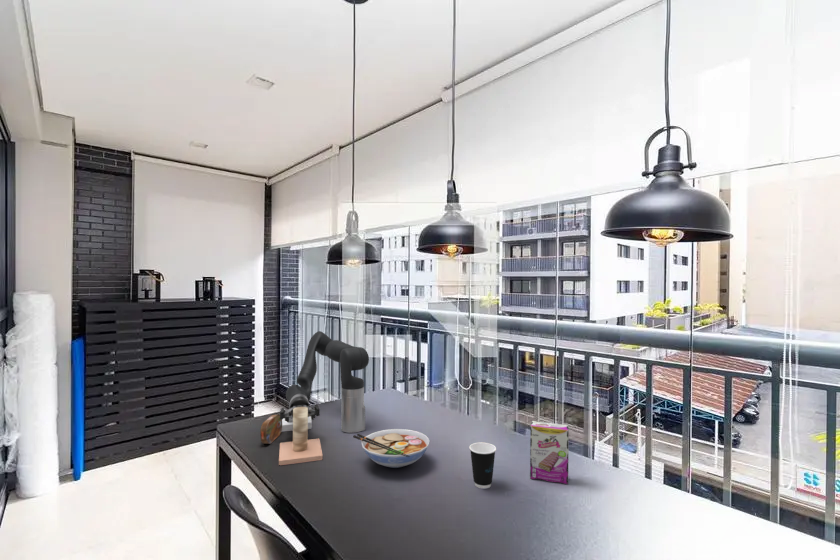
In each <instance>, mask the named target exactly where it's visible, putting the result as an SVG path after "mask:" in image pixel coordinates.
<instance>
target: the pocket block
mask: <svg viewBox="0 0 840 560" xmlns="http://www.w3.org/2000/svg"><path fill="white" fill-rule="evenodd" d="M312 422H313V420H311V416H310V417H308V430H310V429H311V430H312V428H313V425H312V424H313V423H312ZM282 432H283V433H284V432H293V418H292V419H290V418H289V422H287V421H285V418H283V419H282V430H281V433H282Z"/></svg>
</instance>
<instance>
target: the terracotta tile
mask: <svg viewBox="0 0 840 560" xmlns="http://www.w3.org/2000/svg"><path fill="white" fill-rule="evenodd" d="M278 452H279V453H278V455H279V456H278V466H279V465H280V466H286V465H293V464H294V465H295V464H301V463H309V462H315V461H323V458H324V457H323V451H322V444H321V440H320V438H313V439H312V438H311V439H308V448H307V450H305V451H300V452H296V451H293V440H292V441H284V442H283V441H282V442H280V443H279V451H278Z"/></svg>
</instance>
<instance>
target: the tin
mask: <svg viewBox="0 0 840 560" xmlns="http://www.w3.org/2000/svg"><path fill="white" fill-rule="evenodd" d="M281 430H282V420H281V419H280V413H279V414H271V415H270V416H269V417H268V418H267V419H265V420H264V421H263V422H262V424H261V426H260V431H259V432H260V441H261V444H264V445H267V444H268V445H269V444H270V445H271V444H273V442H274V441H275V440H276V439H277V438H278V437H279V436H281V434H282V432H281Z"/></svg>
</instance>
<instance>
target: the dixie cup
mask: <svg viewBox="0 0 840 560" xmlns="http://www.w3.org/2000/svg"><path fill="white" fill-rule="evenodd" d="M469 450H470V459H471V460H470V461H471V469H472V477H473V482H474V486H475V487H476V488H479V489H482V490H483V489H490V487H491V486H492V483H493V476H494V466H495V458H496V457H495V456H496V451H497V447H496V446H495V445H494V444H491V443H489V442H481V441H480V442H474V443H472V444H470V445H469Z"/></svg>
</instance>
